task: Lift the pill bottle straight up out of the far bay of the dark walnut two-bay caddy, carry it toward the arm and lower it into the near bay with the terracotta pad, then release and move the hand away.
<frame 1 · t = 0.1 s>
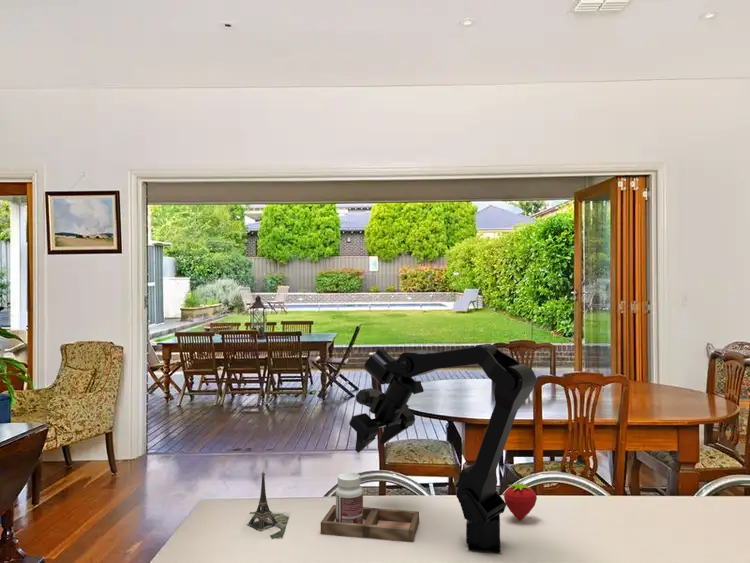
hand: (369, 447, 140), 15 cm above the counter, tool tilted 30°, fingers open, 9 cm apart
strawberry: (520, 521, 133), on the counter
pill bottle: (349, 527, 129), resting in caddy
caddy: (362, 527, 129), on the counter
eiffel tower figurine: (265, 528, 130), on the counter
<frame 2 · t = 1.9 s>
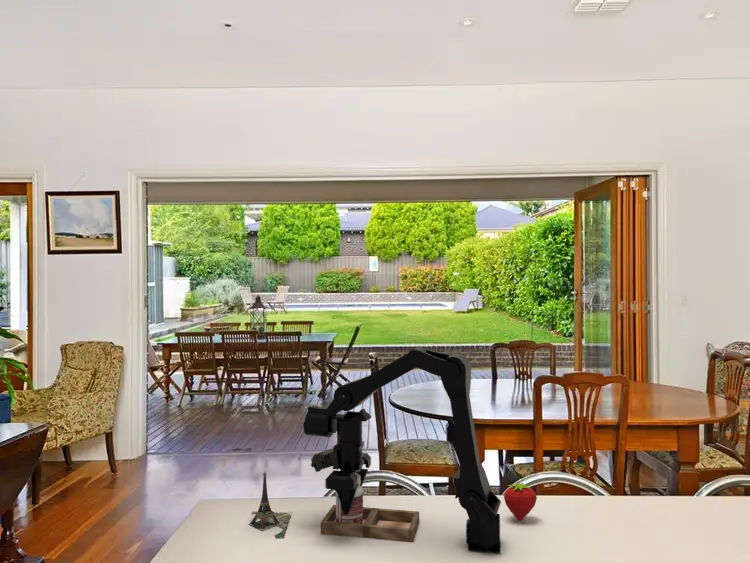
hand: (349, 508, 130), 4 cm above the counter, tool pointing down, fingers closed on pill bottle, 6 cm apart
pill bottle: (349, 527, 129), resting in caddy, touching gripper
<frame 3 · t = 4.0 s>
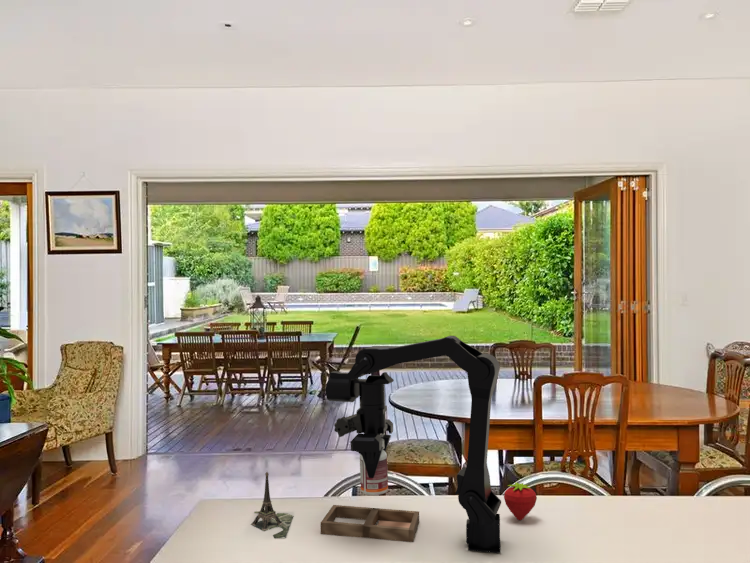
hand: (374, 473, 128), 12 cm above the counter, tool pointing down, fingers closed on pill bottle, 6 cm apart
pill bottle: (374, 492, 128), point 8 cm above the counter, touching gripper
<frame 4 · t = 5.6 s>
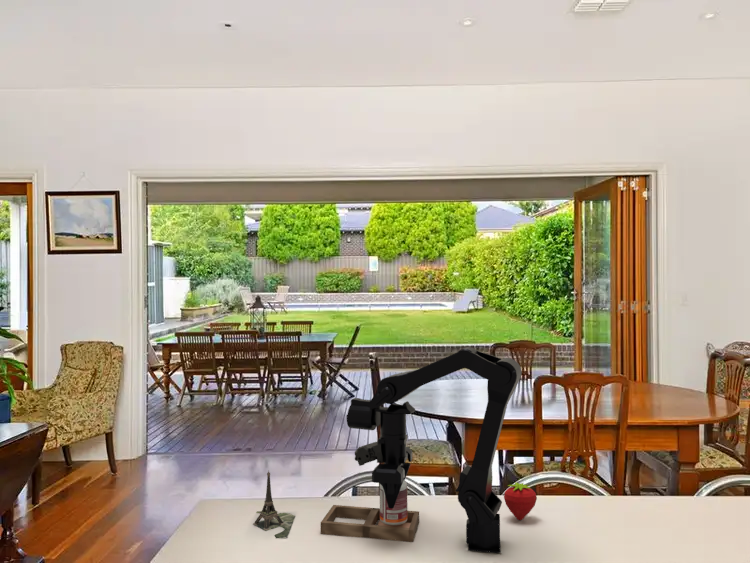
hand: (393, 502, 128), 6 cm above the counter, tool pointing down, fingers closed on pill bottle, 6 cm apart
pill bottle: (393, 521, 127), point 2 cm above the counter, touching gripper
when the fingers open (6 cm above the counter, at t = 6.5 s): pill bottle drops 2 cm, resting on caddy.
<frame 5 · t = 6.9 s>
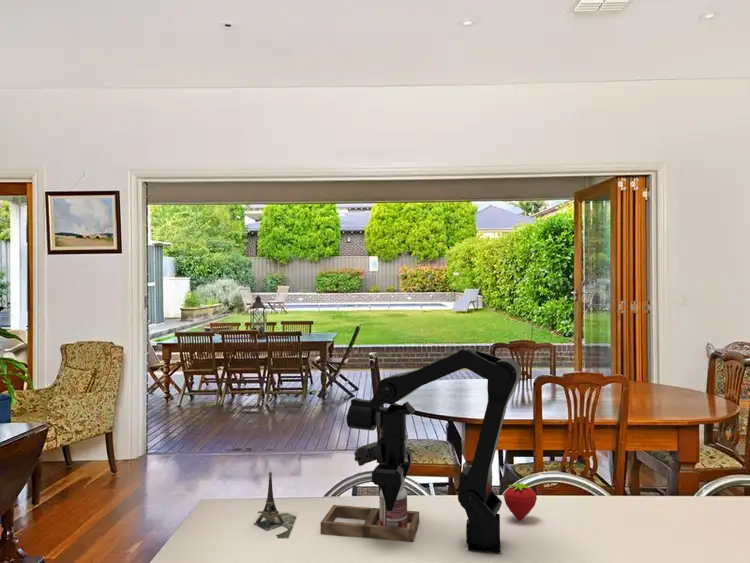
hand: (393, 502, 128), 6 cm above the counter, tool pointing down, fingers open, 9 cm apart
pill bottle: (393, 529, 127), resting on caddy
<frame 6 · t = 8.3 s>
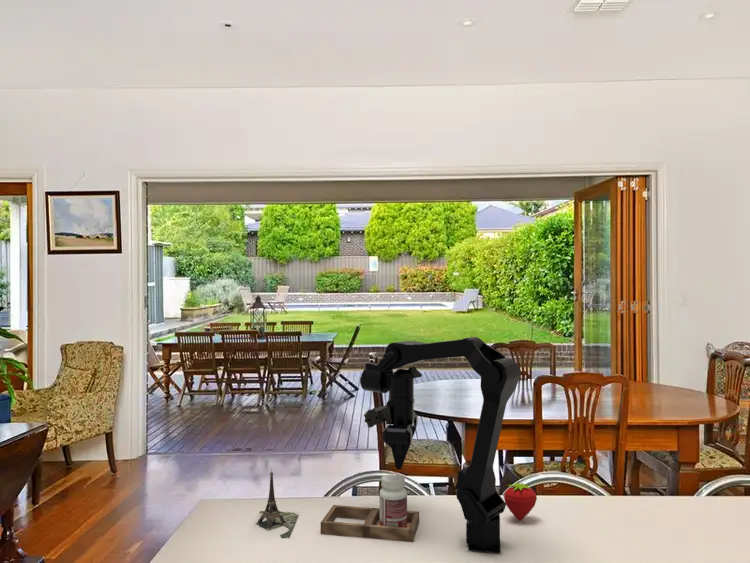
hand: (400, 463, 133), 13 cm above the counter, tool pointing down, fingers open, 9 cm apart
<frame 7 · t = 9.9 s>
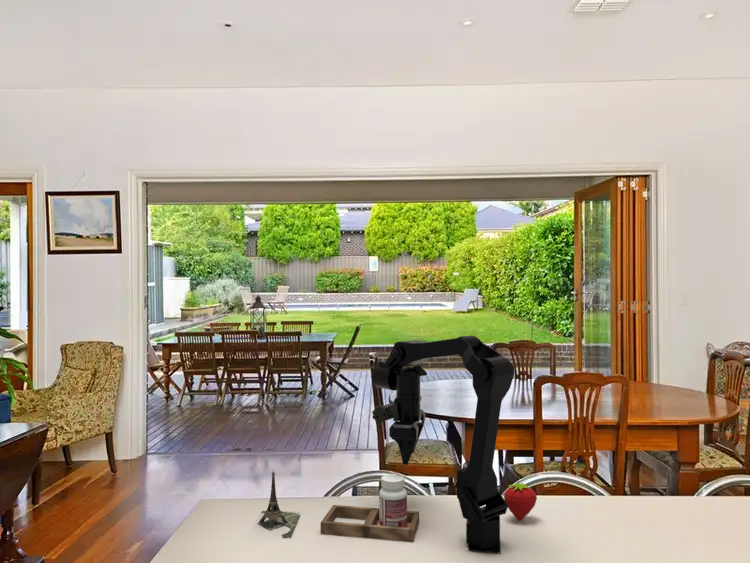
hand: (408, 458, 137), 13 cm above the counter, tool pointing down, fingers open, 9 cm apart
at the end: pill bottle 0.2 cm from the target spot on the caddy, point 0.1 cm above the caddy's base; pill bottle tilted 0°; the gripper is holding nothing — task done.
